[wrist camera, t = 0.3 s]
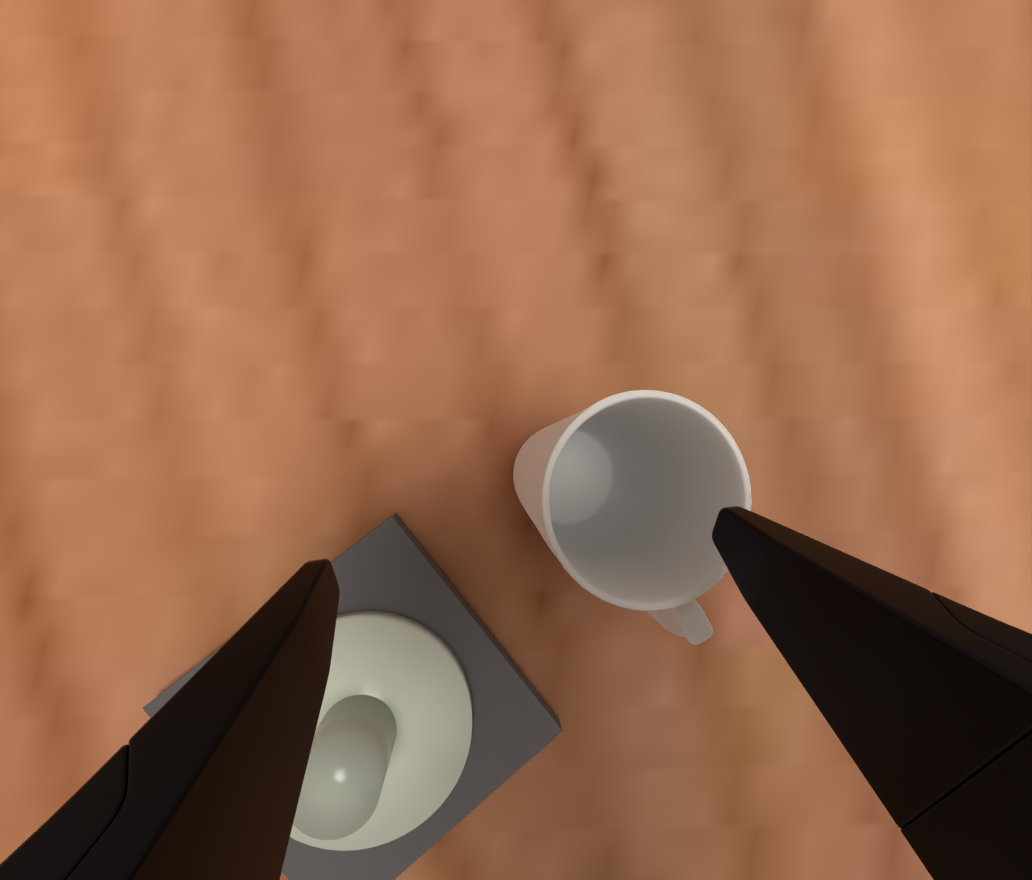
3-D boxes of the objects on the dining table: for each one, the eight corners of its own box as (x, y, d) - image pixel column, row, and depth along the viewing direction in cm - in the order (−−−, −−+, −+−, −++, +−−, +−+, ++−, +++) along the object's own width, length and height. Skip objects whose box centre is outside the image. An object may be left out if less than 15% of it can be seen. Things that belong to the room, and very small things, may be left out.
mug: (489, 448, 23) (503, 446, 11) (586, 402, 24) (696, 354, 12) (560, 595, 23) (648, 748, 11) (653, 545, 24) (828, 640, 12)
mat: (558, 718, 23) (562, 730, 22) (340, 910, 21) (334, 932, 20) (395, 513, 22) (391, 516, 21) (158, 695, 21) (142, 708, 20)
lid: (514, 727, 22) (524, 799, 17) (341, 878, 21) (304, 997, 16) (384, 566, 21) (360, 596, 17) (200, 711, 20) (121, 785, 16)
